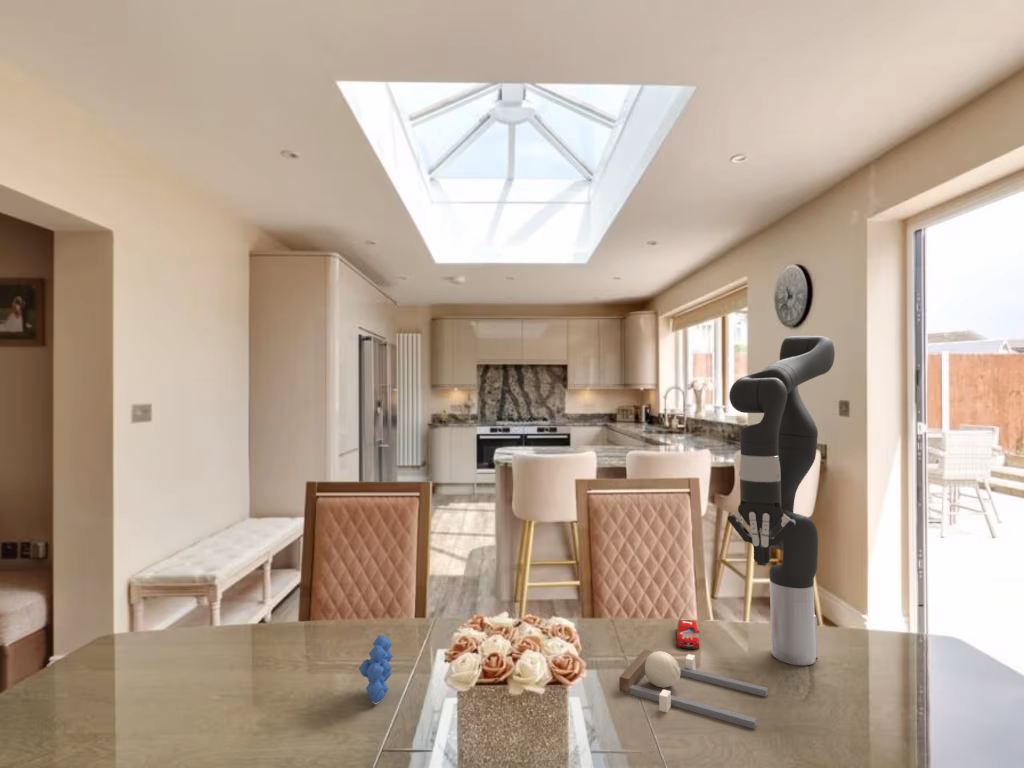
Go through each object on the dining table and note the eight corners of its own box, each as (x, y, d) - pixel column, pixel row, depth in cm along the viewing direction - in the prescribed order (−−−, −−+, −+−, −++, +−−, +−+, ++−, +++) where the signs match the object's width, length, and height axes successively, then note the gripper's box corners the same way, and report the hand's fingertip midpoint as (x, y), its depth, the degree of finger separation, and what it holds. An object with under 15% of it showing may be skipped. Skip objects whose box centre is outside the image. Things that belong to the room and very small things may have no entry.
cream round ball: (678, 697, 115) (677, 663, 115) (642, 689, 118) (641, 656, 118) (683, 681, 121) (682, 650, 121) (648, 674, 124) (648, 643, 124)
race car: (699, 653, 135) (699, 636, 135) (676, 650, 137) (675, 633, 137) (699, 630, 148) (698, 615, 148) (677, 628, 149) (677, 613, 149)
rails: (767, 693, 116) (767, 687, 116) (754, 729, 103) (754, 722, 103) (652, 665, 129) (652, 659, 129) (629, 693, 116) (629, 687, 116)
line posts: (695, 669, 126) (695, 655, 126) (667, 712, 109) (666, 696, 109) (688, 667, 127) (688, 654, 127) (659, 710, 110) (659, 694, 110)
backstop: (653, 664, 129) (652, 651, 129) (628, 693, 116) (628, 679, 116) (644, 662, 130) (644, 649, 130) (619, 691, 117) (619, 676, 117)
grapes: (366, 683, 122) (366, 626, 122) (398, 682, 122) (397, 626, 122) (350, 713, 110) (350, 650, 111) (385, 712, 110) (384, 650, 111)
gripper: (798, 477, 113) (801, 564, 113) (729, 473, 121) (731, 555, 120) (794, 482, 107) (796, 574, 107) (721, 477, 114) (723, 564, 114)
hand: (762, 564), depth 113 cm, fingers closed
